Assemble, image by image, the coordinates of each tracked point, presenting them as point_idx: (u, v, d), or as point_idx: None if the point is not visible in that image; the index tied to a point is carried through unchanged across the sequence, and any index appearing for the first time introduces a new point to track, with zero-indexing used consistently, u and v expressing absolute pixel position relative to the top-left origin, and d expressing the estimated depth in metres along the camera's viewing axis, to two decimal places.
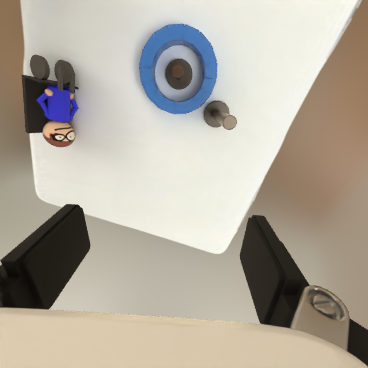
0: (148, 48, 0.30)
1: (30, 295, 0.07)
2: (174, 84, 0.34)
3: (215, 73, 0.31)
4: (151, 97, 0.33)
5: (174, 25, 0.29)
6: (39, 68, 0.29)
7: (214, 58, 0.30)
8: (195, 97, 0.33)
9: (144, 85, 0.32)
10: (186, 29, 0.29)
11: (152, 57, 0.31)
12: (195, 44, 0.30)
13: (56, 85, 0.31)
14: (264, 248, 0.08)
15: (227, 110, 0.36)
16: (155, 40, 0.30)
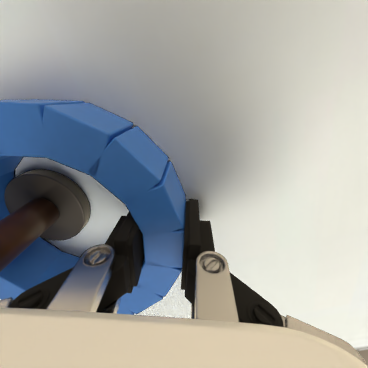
0: None
1: (129, 272, 0.08)
2: None
3: (142, 308, 0.11)
4: None
5: (130, 158, 0.07)
6: None
7: (164, 291, 0.10)
8: None
9: None
10: (155, 198, 0.08)
11: None
12: (148, 240, 0.09)
13: None
14: None
15: None
16: (34, 128, 0.07)
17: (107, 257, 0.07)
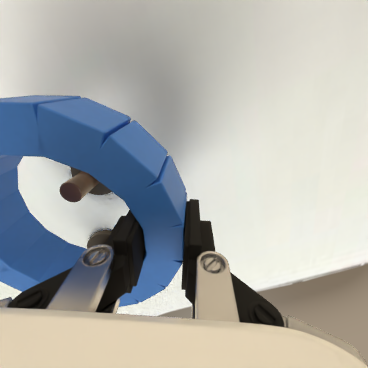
0: None
1: (128, 272, 0.08)
2: None
3: (146, 296, 0.12)
4: None
5: (127, 156, 0.07)
6: None
7: (166, 281, 0.11)
8: None
9: None
10: (153, 194, 0.08)
11: None
12: (148, 235, 0.09)
13: None
14: (185, 224, 0.09)
15: None
16: (30, 127, 0.07)
17: (106, 257, 0.07)
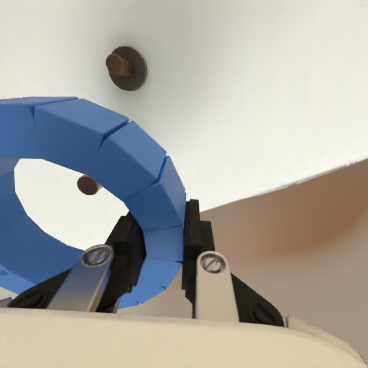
0: None
1: (128, 272, 0.08)
2: (113, 73, 0.24)
3: (147, 298, 0.12)
4: None
5: (126, 157, 0.07)
6: None
7: (166, 282, 0.11)
8: None
9: None
10: (153, 195, 0.08)
11: None
12: (148, 236, 0.09)
13: None
14: (185, 224, 0.09)
15: None
16: (27, 129, 0.07)
17: (106, 257, 0.07)
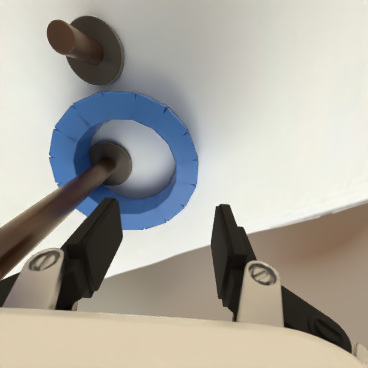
0: (109, 101, 0.14)
1: (85, 276, 0.08)
2: (73, 58, 0.16)
3: (172, 215, 0.19)
4: (54, 160, 0.16)
5: (174, 119, 0.15)
6: None
7: (185, 201, 0.18)
8: (123, 216, 0.19)
9: (56, 135, 0.15)
10: (184, 140, 0.16)
11: (105, 117, 0.15)
12: (179, 166, 0.17)
13: None
14: (222, 231, 0.09)
15: (126, 175, 0.20)
16: (130, 104, 0.15)
17: (56, 261, 0.07)
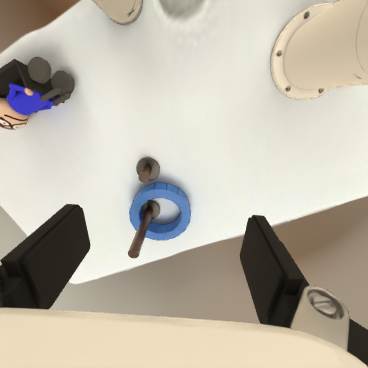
0: (156, 192, 0.37)
1: (30, 295, 0.07)
2: (139, 171, 0.39)
3: (179, 234, 0.42)
4: (131, 212, 0.39)
5: (180, 197, 0.38)
6: (38, 72, 0.27)
7: (185, 228, 0.41)
8: (157, 234, 0.42)
9: (133, 204, 0.38)
10: (184, 204, 0.39)
11: (153, 197, 0.38)
12: (182, 214, 0.40)
13: (41, 94, 0.29)
14: (264, 248, 0.08)
15: (157, 214, 0.43)
16: (163, 193, 0.38)
17: None
